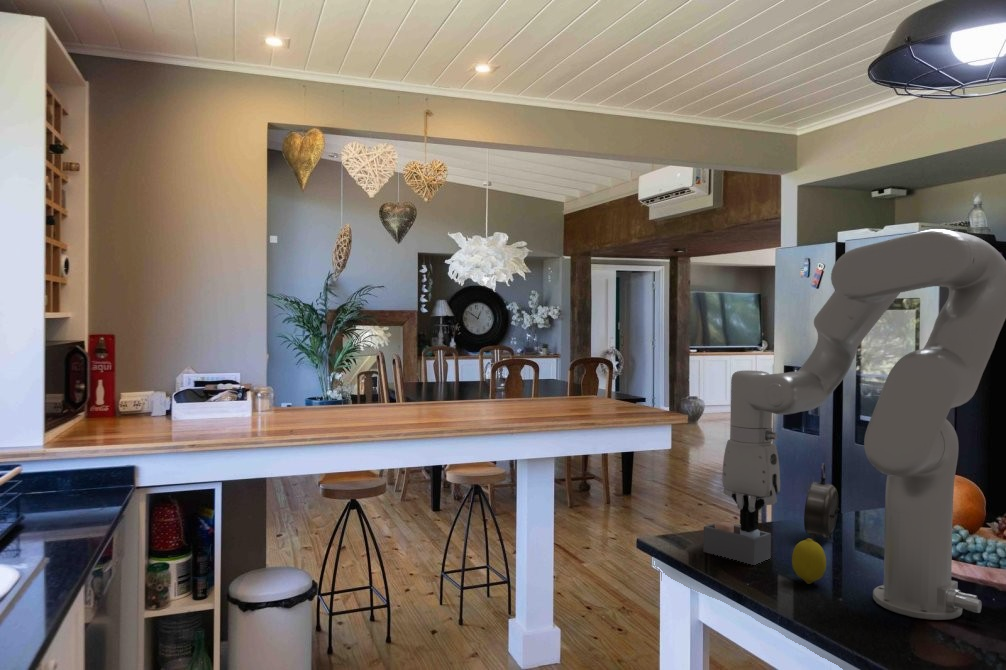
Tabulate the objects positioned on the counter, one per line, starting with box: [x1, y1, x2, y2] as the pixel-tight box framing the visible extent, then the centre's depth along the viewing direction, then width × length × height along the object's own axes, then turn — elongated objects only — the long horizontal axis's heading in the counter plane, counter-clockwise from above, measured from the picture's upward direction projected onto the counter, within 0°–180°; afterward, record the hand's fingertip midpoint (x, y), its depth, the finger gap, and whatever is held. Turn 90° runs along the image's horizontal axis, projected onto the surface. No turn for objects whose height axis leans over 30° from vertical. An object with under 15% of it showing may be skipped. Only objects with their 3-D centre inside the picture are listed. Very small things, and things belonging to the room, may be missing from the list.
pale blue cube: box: [740, 528, 761, 538], centre depth 141 cm, size 4×4×4 cm
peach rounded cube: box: [715, 521, 735, 533], centre depth 145 cm, size 4×4×4 cm
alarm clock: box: [803, 462, 840, 543], centre depth 152 cm, size 11×5×16 cm, turn 144°
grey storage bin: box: [703, 520, 772, 566], centre depth 143 cm, size 11×6×5 cm, turn 41°
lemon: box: [791, 537, 827, 585], centre depth 128 cm, size 6×6×8 cm
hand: (748, 529), depth 141 cm, fingers closed
